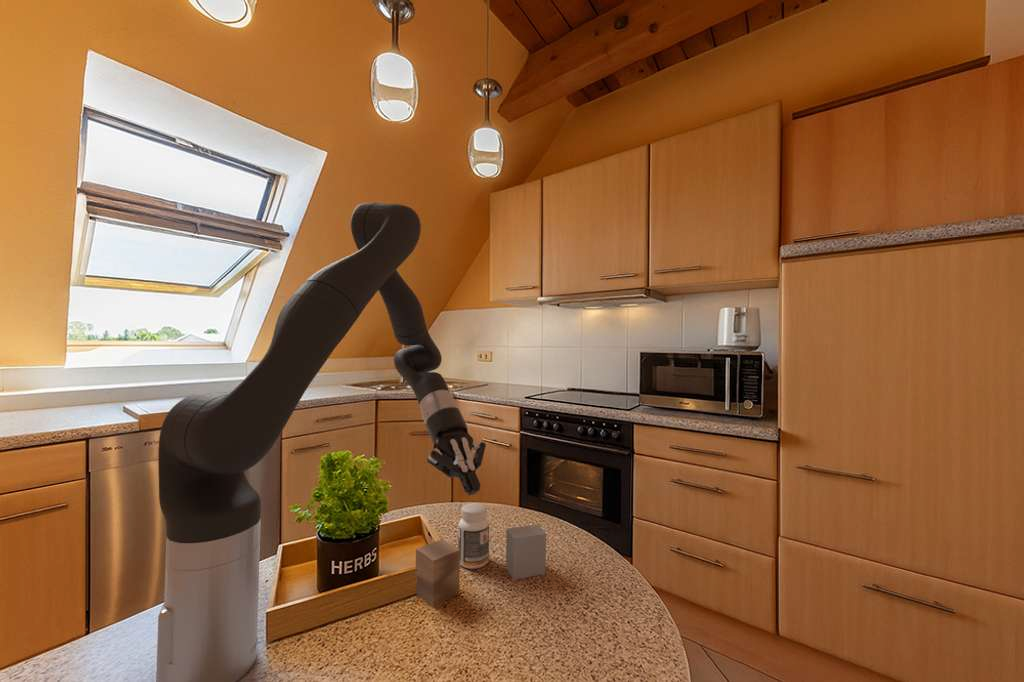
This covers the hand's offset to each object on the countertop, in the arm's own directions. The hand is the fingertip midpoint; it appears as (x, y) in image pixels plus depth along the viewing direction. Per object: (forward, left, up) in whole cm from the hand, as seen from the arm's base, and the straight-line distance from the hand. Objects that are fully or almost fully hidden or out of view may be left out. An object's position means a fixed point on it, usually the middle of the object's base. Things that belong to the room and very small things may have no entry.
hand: (474, 492), depth 75 cm
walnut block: (-9, -6, -13) cm, 17 cm away
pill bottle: (0, 0, -13) cm, 13 cm away
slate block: (+7, -7, -13) cm, 16 cm away
